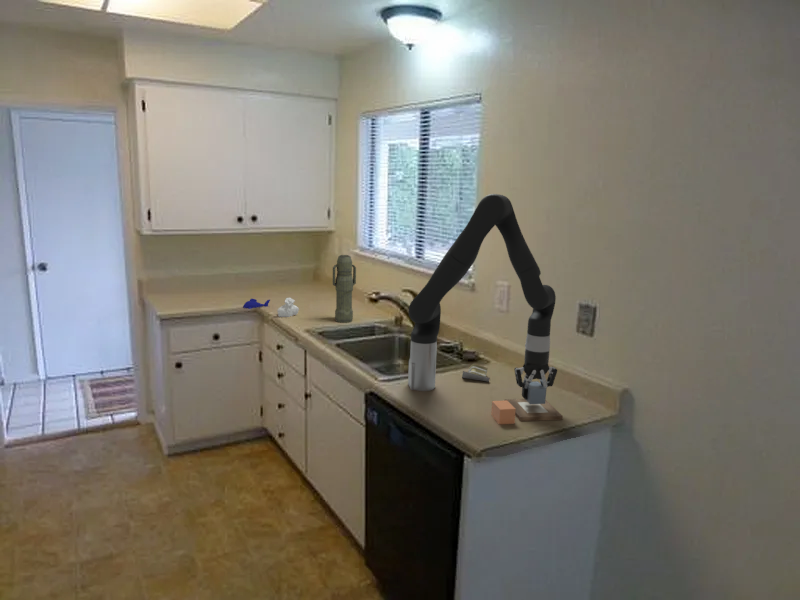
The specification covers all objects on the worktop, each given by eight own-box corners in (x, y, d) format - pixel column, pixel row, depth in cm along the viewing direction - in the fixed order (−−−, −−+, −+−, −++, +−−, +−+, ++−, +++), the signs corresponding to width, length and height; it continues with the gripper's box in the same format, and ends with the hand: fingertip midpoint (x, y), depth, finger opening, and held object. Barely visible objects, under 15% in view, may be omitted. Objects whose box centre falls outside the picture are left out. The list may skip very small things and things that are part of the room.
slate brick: (530, 404, 182) (531, 389, 181) (522, 396, 189) (523, 381, 188) (545, 403, 183) (546, 388, 182) (536, 395, 190) (537, 381, 189)
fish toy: (244, 312, 313) (244, 300, 312) (242, 309, 320) (241, 297, 319) (272, 310, 320) (271, 298, 318) (269, 308, 326) (268, 296, 325)
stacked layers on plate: (486, 390, 218) (489, 378, 221) (489, 378, 211) (492, 365, 214) (460, 383, 219) (464, 371, 223) (463, 371, 212) (466, 359, 216)
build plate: (519, 420, 179) (520, 416, 178) (504, 402, 193) (504, 399, 193) (562, 419, 181) (562, 415, 180) (543, 401, 195) (544, 398, 195)
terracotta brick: (498, 424, 175) (500, 409, 174) (491, 415, 182) (492, 401, 181) (514, 424, 176) (515, 408, 175) (506, 415, 183) (507, 400, 182)
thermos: (358, 324, 294) (359, 256, 287) (336, 326, 288) (337, 257, 281) (350, 320, 302) (351, 254, 295) (329, 322, 296) (330, 254, 289)
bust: (295, 315, 310) (295, 294, 308) (301, 318, 304) (301, 297, 302) (274, 317, 303) (274, 296, 301) (280, 320, 297) (279, 299, 295)
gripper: (519, 351, 178) (516, 403, 181) (563, 350, 180) (559, 402, 183) (511, 345, 185) (508, 395, 189) (554, 344, 187) (550, 393, 191)
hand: (533, 398), depth 186 cm, fingers closed on slate brick, 5 cm apart
